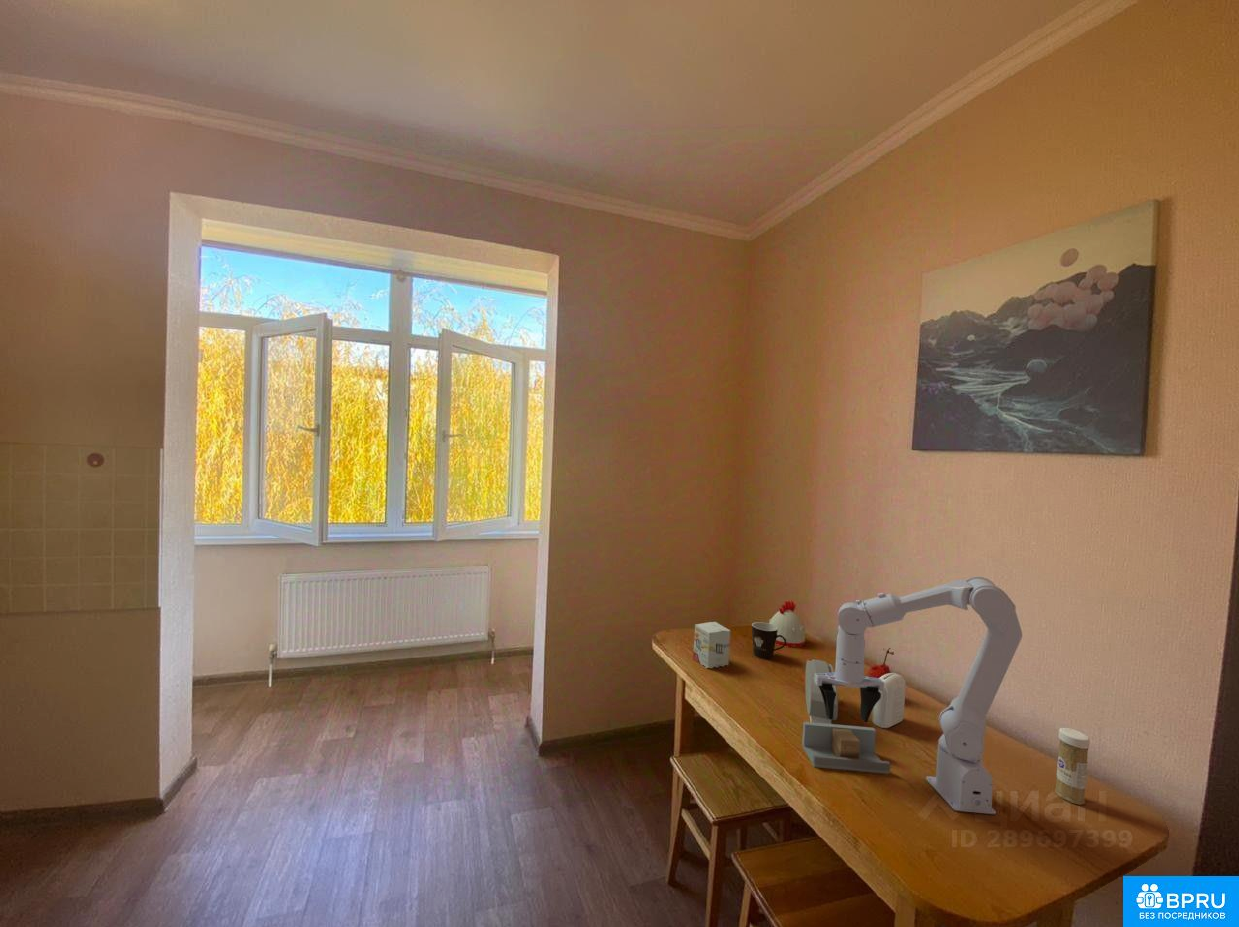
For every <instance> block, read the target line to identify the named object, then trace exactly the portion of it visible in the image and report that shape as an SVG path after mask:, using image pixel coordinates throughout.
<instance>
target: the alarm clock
mask: <svg viewBox="0 0 1239 927" xmlns="http://www.w3.org/2000/svg"><path fill="white" fill-rule="evenodd" d="M805 662H806V663H805V679H804V682H805V683H804V684H805V701H806V712H807V714H808V716H809V720H810V721H809V722H813V723H824V724H832V721H836V720H837V719H838V713H839V698H838V697H839V695H838V686H833V685H832V687H833V688H834V689H833V690H834V691H835V693H836V697H835V701H834V711H833V720H831V719H829V718H828V717H827V715H826V710H825V704H824V700H823V697H822V694H821V691H820V689H819V686H817V684H816V683H815V682H814V676H815V673H817V674H821V673H832V672H835V669H834V667H833V665H832V664H831V663H828V662H827V661H824V660H819V659H814V658H812V659H811V660H809V659H808V660H806V661H805Z"/></svg>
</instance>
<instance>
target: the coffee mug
mask: <svg viewBox="0 0 1239 927" xmlns="http://www.w3.org/2000/svg"><path fill="white" fill-rule="evenodd" d="M751 631H752V650H753V653H752V654H753V656H755V657H756V658H758V659H762V660H771V659H773V658H774V653H775V651H779V650H781V649H783V648H785V647H784V646H785V645H786V639H785V638H784V637H783V636H782V635H777V631H778V628H777V627H776V626H775V625H772V624H769V622H762V621H759V622H758V621H757V622H753V623H752V624H751ZM777 637H782V638H783V639H784V642H785V643H784V645H783V646H779V647H777V648H775V646H776V644H775V642H776V639H777Z"/></svg>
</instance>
